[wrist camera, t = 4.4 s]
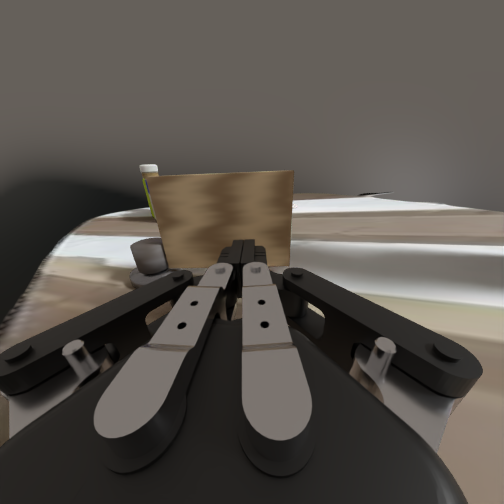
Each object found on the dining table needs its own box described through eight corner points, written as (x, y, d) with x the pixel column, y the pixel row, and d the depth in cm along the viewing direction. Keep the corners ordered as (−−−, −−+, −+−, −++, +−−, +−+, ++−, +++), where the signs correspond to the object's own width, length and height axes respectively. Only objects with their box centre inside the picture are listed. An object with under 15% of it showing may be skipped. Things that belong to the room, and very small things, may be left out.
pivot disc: (187, 264, 26) (186, 258, 25) (170, 289, 20) (168, 281, 20) (148, 265, 26) (146, 259, 25) (121, 290, 21) (118, 282, 20)
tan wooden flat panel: (131, 274, 21) (96, 179, 17) (148, 259, 24) (123, 177, 20) (290, 271, 20) (296, 171, 16) (286, 256, 23) (289, 170, 19)
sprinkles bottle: (154, 210, 61) (142, 165, 55) (168, 209, 62) (158, 164, 56) (149, 213, 57) (136, 164, 51) (165, 212, 57) (153, 164, 52)
